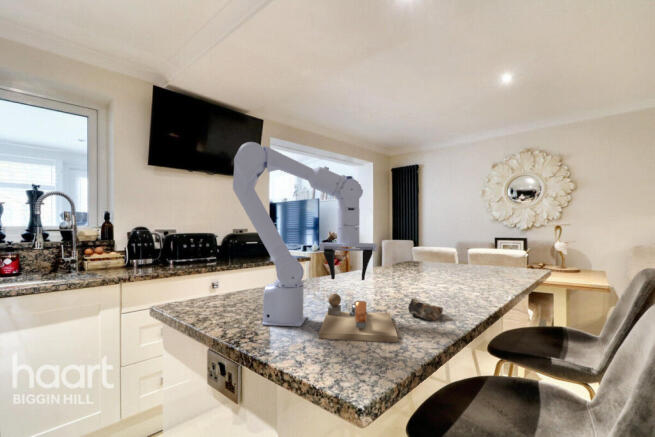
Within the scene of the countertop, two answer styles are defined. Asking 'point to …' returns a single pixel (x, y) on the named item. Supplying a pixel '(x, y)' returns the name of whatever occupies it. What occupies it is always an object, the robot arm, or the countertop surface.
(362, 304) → the lever
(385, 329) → the base
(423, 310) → the rock
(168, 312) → the countertop surface
